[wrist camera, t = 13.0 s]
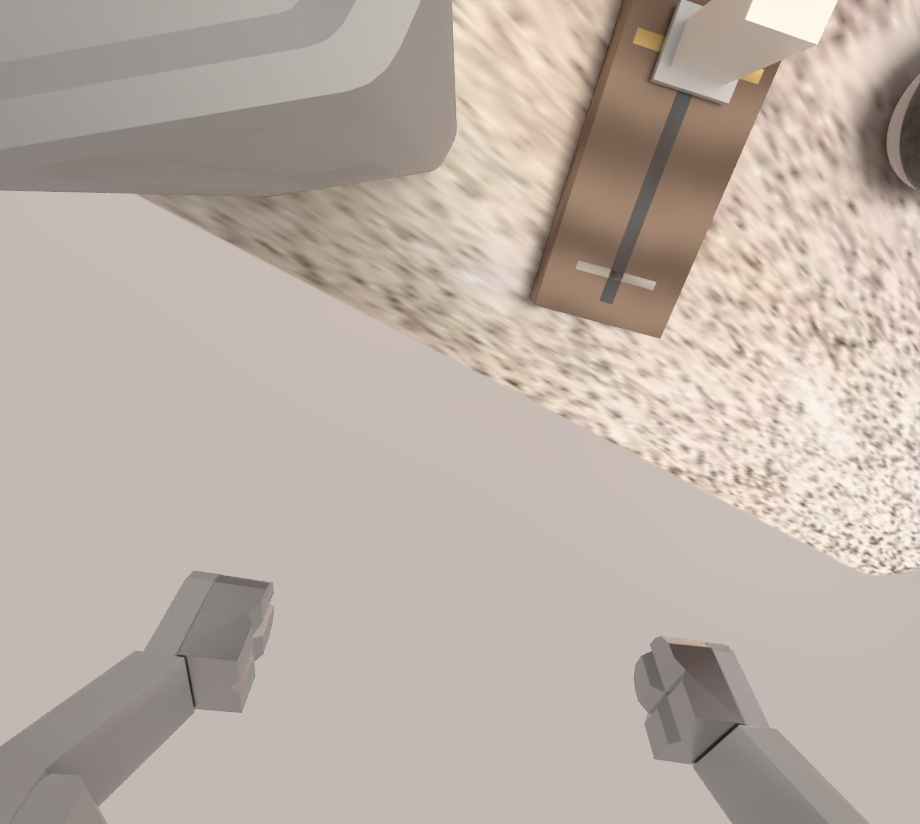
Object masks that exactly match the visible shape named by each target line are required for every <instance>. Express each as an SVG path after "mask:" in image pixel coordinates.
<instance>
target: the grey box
mask: <svg viewBox="0 0 920 824" xmlns="http://www.w3.org/2000/svg"><path fill="white" fill-rule="evenodd" d="M456 128H457V126H456V100H455V74H454V48H453V21H452V0H0V190H7V191H8V190H9V191H51V192H96V193H138V194H182V195H226V196H276V195H283V194H289V193H295V192H302V191H308V190H315V189H321V188H327V187H334V186H340V185H346V184H353V183H359V182H365V181H372V180H378V179H384V178H391V177H397V176H403V175H410V174H416V173H423V172H429V171H432V170H435V169H436V168H438V167H439V166H440V165H441V164H442V162H443V161H444V159H445V157H446V155H447V153H448V151H449V149H450V147H451V145H452V143H453V141H454V139H455V136H456Z"/></svg>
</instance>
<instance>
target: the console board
mask: <svg viewBox="0 0 920 824" xmlns="http://www.w3.org/2000/svg"><path fill="white" fill-rule="evenodd" d="M679 1H680V0H623V3H622V6H621V9H620V12H619V15H618V19H617V22H616V25H615V28H614V31H613V35H612V38H611V41H610V44H609V47H608V50H607V54H606V57H605V60H604V63H603V66H602V69H601V73H600V76H599V79H598V82H597V85H596V88H595V92H594V95H593V98H592V101H591V104H590V107H589V111H588V114H587V117H586V120H585V123H584V126H583V130H582V133H581V136H580V139H579V142H578V146H577V149H576V152H575V155H574V158H573V161H572V165H571V168H570V171H569V174H568V177H567V180H566V184H565V187H564V190H563V193H562V196H561V199H560V203H559V206H558V209H557V212H556V215H555V218H554V222H553V225H552V228H551V231H550V234H549V237H548V241H547V244H546V247H545V250H544V253H543V257H542V260H541V263H540V266H539V269H538V272H537V276H536V279H535V282H534V285H533V288H532V291H531V295H530V299H531V300H532V302H533V303H534V304H535V305H537V306H540V307H544V308H548V309H552V310H555V311H559V312H563V313H567V314H570V315H574V316H578V317H582V318H585V319H589V320H593V321H597V322H600V323H604V324H608V325H612V326H615V327H619V328H623V329H627V330H630V331H634V332H638V333H641V334H645V335H649V336H653V337H656V338H661V336H662V333H663V331H664V329H665V327H666V324H667V322H668V320H669V317H670V315H671V313H672V310H673V308H674V306H675V304H676V301H677V299H678V297H679V294H680V292H681V290H682V288H683V285H684V283H685V281H686V278H687V276H688V274H689V271H690V269H691V267H692V265H693V262H694V260H695V258H696V255H697V253H698V251H699V248H700V246H701V244H702V242H703V239H704V237H705V235H706V232H707V230H708V228H709V225H710V223H711V221H712V219H713V216H714V214H715V212H716V209H717V207H718V205H719V203H720V200H721V198H722V196H723V193H724V191H725V189H726V186H727V184H728V182H729V180H730V177H731V175H732V173H733V170H734V168H735V166H736V163H737V161H738V159H739V157H740V154H741V152H742V150H743V147H744V145H745V143H746V141H747V138H748V136H749V134H750V131H751V129H752V127H753V124H754V122H755V120H756V118H757V115H758V113H759V111H760V108H761V106H762V104H763V101H764V99H765V97H766V95H767V92H768V90H769V88H770V85H771V83H772V81H773V78H774V76H775V74H776V72H777V69H778V67H779V65H780V62H781V61H779V62H776V63H774V64H772V65H770V66H767V67H765V68H763V69H760V70H758V71H756V72H753V73H751V74H749V75H747V76H744V77H742V78H740V79H739V80H738V82H737V85H736V87H735V89H734V92H733V94H732V97H731V99H730V102H729V104H726V105H722V104H718V103H715V102H712V101H709V100H706V99H703V98H700V97H697V96H694V95H691V94H688V93H685V92H682V91H678V90H675V89H672V88H669V87H666V86H663V85H660V84H657V83H654V82H651V81H650V80H651V77H652V74H653V71H654V69H655V66H656V63H657V60H658V57H659V54H660V51H661V49H662V46H663V43H664V40H665V37H666V34H667V32H668V29H669V26H670V23H671V20H672V17H673V14H674V12H675V9H676V6H677V3H678V2H679ZM686 1H689V2H692V3H695V4H698V5H701V6H705V5H706V4H707V3H708V2H710V1H711V0H686Z"/></svg>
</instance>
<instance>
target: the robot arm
mask: <svg viewBox="0 0 920 824" xmlns="http://www.w3.org/2000/svg"><path fill="white" fill-rule="evenodd" d="M273 593H274V592H273V583H271V582H265V581H258V580H252V579H244V578H238V577H231V576H224V575H220V574H213V573H206V572H198V571H193V572H192V573H191V574H190V575H189V576H188V577H187V578H186V579H185V581H184V583H183V584H182V586H181V588H180V589H179V591H178V593H177V595H176V596H175V598H174V600H173V602H172V604H171V605H170V607H169V609H168V610H167V612H166V614H165V615H164V618H163V619H162V621H161V622H160V624H159V626H158V627H157V629H156V631H155V633H154V634H153V636H152V638H151V640H150V641H149V643H148V645H147V646H146V648H145V650H144V652H141V651H134V652H133V653H131V654H130V655H129V656H127V657H126V658H124V659H123V660H122V661H120V662H119V663H117V664H116V665H114V666H113V667H112V668H110V669H109V670H108V671H106V672H105V673H104V674H102V675H101V676H99V677H98V678H96V679H95V680H93V681H92V682H91V683H89V684H88V685H86V686H85V687H84V688H82V689H81V690H79V691H78V692H77V693H75V694H74V695H72V696H71V697H69V698H68V699H67V700H65V701H64V702H62V703H61V704H59V705H58V706H57V707H55V708H54V709H52V710H51V711H50V712H48V713H47V714H45V715H44V716H43V717H41V718H40V719H38V720H37V721H35V722H34V723H33V724H31V725H30V726H28V727H27V728H26V729H24V730H23V731H21V732H20V733H19V734H17V735H16V736H14V737H13V738H12V739H10V740H9V741H7V742H6V743H5V744H3V745H2V746H0V824H107V822H106V820H105V819H104V817H103V815H102V813H101V812H100V810H99V808H98V807H99V806H100V804H102V803H103V802H104V801H105V800H106V799H107V798H108V797H109V796H110V795H111V794H112V793H113V792H114V791H115V790H116V789H117V788H118V787H119V786H120V785H121V784H122V783H123V782H124V781H125V780H126V779H127V778H128V777H129V776H130V775H131V774H132V773H133V772H134V771H135V770H136V769H137V768H138V767H139V766H140V765H141V764H142V763H143V762H144V761H145V760H146V759H147V758H148V757H149V756H150V755H151V754H152V753H153V752H154V751H155V750H156V749H158V748H159V746H161V745H162V744H163V743H164V741H166V740H167V739H168V738H169V737H170V736H171V735H172V734H173V733H174V732H175V731H176V730H177V729H178V727H180V726H181V725H182V724H183V723H184V722H185V721H186V720H187V719H188V718H189V717H190V716H191V715H192V714H193V713H194V709H203V710H215V711H227V712H239V713H241V712H242V710H243V707H244V705H245V702H246V699H247V697H248V694H249V691H250V689H251V686H252V683H253V680H254V678H255V670H254V661H255V660H257V659H258V658H259V657H260V656H261V655H263V653H264V650H265V647H266V644H267V641H268V638H269V634H270V630H271V627H272V621H273V614H274V606H273V605H272V604H271V603H270V601H271V598H272V596H273ZM650 646H651V649H652V651H651V652H649V653H647V654H644V655H642V656H641V657H640V659H639V660H638V662H637V663H636V666H635V673H634V684H635V691H636V694H637V698H638V701H639V702H640V704H641V705H642V706H643V707H644V708H645V710H646V711H647V712H648V715H647V718H646V721H645V727H646V731H647V734H648V738H649V741H650V745H651V748H652V752H653V755H654V759H658V760H665V761H672V762H679V763H686V764H693V765H694V766H693V768H694V769H695V771H696V772H697V774H698V775H699V777H700V778H701V780H702V781H703V782H704V784H705V785H706V787H707V788H708V789H709V791H710V792H711V794H712V795H713V796H714V798H715V800H716V801H717V802H718V804H719V805H720V806H721V808H722V809H723V811H724V812H725V814H726V815H727V817H728V818H729V819H730V821H731V822H732V824H869V823H868V822H867V821H866V820H865V819H864V817H863V816H861V814H860V813H859V812H857V811H856V809H855V808H854V807H853V806H852V805H851V804H850V803H849V802H848V801H847V800H846V799H845V798H844V797H843V796H842V795H841V794H840V793H839V792H838V791H837V790H836V789H835V788H834V787H833V786H832V785H831V784H830V783H829V782H828V781H827V780H826V779H825V778H824V777H823V776H822V775H821V774H820V773H819V772H818V771H817V770H816V769H815V768H814V767H813V766H812V765H811V764H810V763H809V762H808V761H807V760H806V758H805V757H804V756H803V755H802V754H801V753H800V752H799V751H798V750H797V749H796V748H795V747H794V746H793V745H792V744H791V743H790V742H789V741H788V740H787V739H786V738H785V737H784V736H783V735H782V734H781V733H780V732H779V731H778V730H777V729H772V728H770V727H769V725H768V723H767V721H766V719H765V716H764V714H763V712H762V710H761V708H760V706H759V704H758V702H757V700H756V697H755V695H754V693H753V691H752V689H751V687H750V685H749V683H748V681H747V679H746V676H745V674H744V673H743V670H742V668H741V666H740V664H739V662H738V660H737V658H736V656H735V654H734V652H733V651H732V650H731V649H730V647H729V646H726V645H722V644H716V643H708V642H702V641H697V640H688V639H680V638H672V637H663V636H660V637H657V638H655V639H654V640H653V641H652V643H651V644H650Z"/></svg>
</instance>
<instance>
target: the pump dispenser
mask: <svg viewBox="0 0 920 824" xmlns="http://www.w3.org/2000/svg"><path fill="white" fill-rule="evenodd" d="M887 154H888V158H889V161H890V164H891V166H892V168H893V170H894V172H895V173H896V174H897V176H898V177H899V178H900V179H901V180H902V181H903V182H904V183H906V184H907V185H908V186H910V187H911V188H913V189H915V190H917V191H918V192H919V193H920V74H919V75H918V76H917V77H916V78H915V79H914V80H913V81H912V83H911V84H910V85H909V86H908V88H907V89H906V91H905V92H904V93H903V95H902V97H901V98H900V100H899V102H898V103H897V105H896V107H895V110H894V112H893V114H892V117H891V120H890V123H889V127H888V132H887Z"/></svg>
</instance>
